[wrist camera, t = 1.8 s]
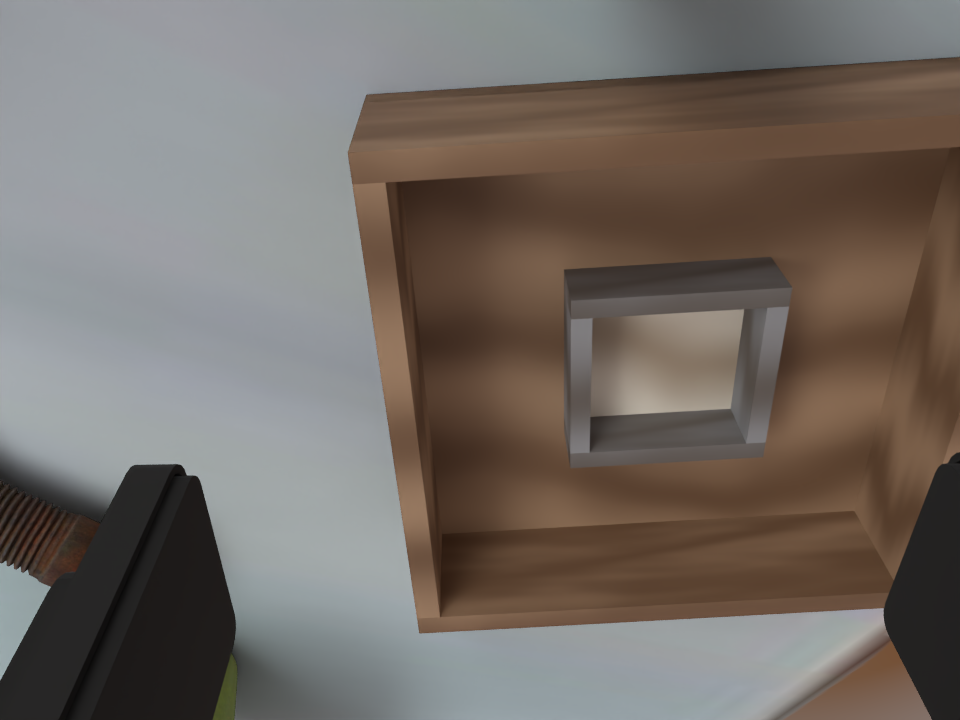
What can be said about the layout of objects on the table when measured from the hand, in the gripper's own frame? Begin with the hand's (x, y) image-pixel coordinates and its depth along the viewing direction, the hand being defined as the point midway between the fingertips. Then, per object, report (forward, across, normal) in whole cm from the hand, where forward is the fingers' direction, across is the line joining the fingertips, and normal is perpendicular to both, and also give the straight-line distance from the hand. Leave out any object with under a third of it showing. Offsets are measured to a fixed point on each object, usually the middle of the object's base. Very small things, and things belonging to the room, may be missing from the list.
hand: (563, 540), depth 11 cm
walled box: (+22, -7, +11) cm, 26 cm away
